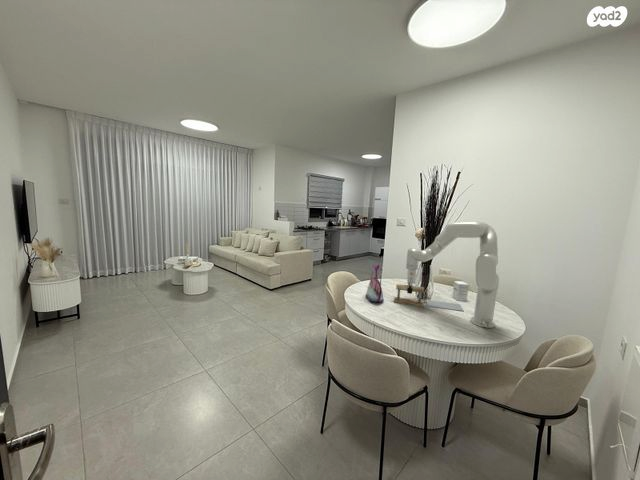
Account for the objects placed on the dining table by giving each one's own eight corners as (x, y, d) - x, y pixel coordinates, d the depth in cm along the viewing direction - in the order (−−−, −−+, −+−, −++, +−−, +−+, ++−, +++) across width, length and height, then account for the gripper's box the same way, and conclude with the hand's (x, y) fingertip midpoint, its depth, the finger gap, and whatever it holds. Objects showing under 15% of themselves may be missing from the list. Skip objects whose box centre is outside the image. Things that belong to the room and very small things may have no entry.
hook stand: (423, 306, 178) (425, 292, 177) (394, 302, 184) (395, 288, 182) (422, 301, 188) (424, 287, 186) (394, 297, 193) (395, 284, 192)
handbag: (363, 294, 198) (365, 261, 195) (376, 294, 200) (378, 261, 196) (372, 305, 177) (375, 268, 174) (386, 305, 179) (389, 268, 175)
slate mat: (463, 311, 173) (463, 310, 173) (427, 306, 179) (427, 305, 179) (459, 305, 185) (460, 304, 185) (425, 300, 191) (426, 299, 191)
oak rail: (423, 293, 180) (424, 288, 180) (396, 289, 186) (396, 285, 185) (423, 291, 183) (423, 287, 183) (396, 288, 188) (396, 284, 188)
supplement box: (451, 297, 200) (453, 280, 198) (461, 297, 200) (463, 281, 198) (456, 300, 193) (458, 283, 191) (467, 301, 193) (469, 284, 191)
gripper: (418, 270, 173) (415, 297, 176) (417, 264, 189) (414, 289, 191) (406, 268, 175) (403, 295, 178) (406, 263, 191) (403, 288, 193)
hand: (409, 292), depth 185 cm, fingers closed on oak rail, 3 cm apart
